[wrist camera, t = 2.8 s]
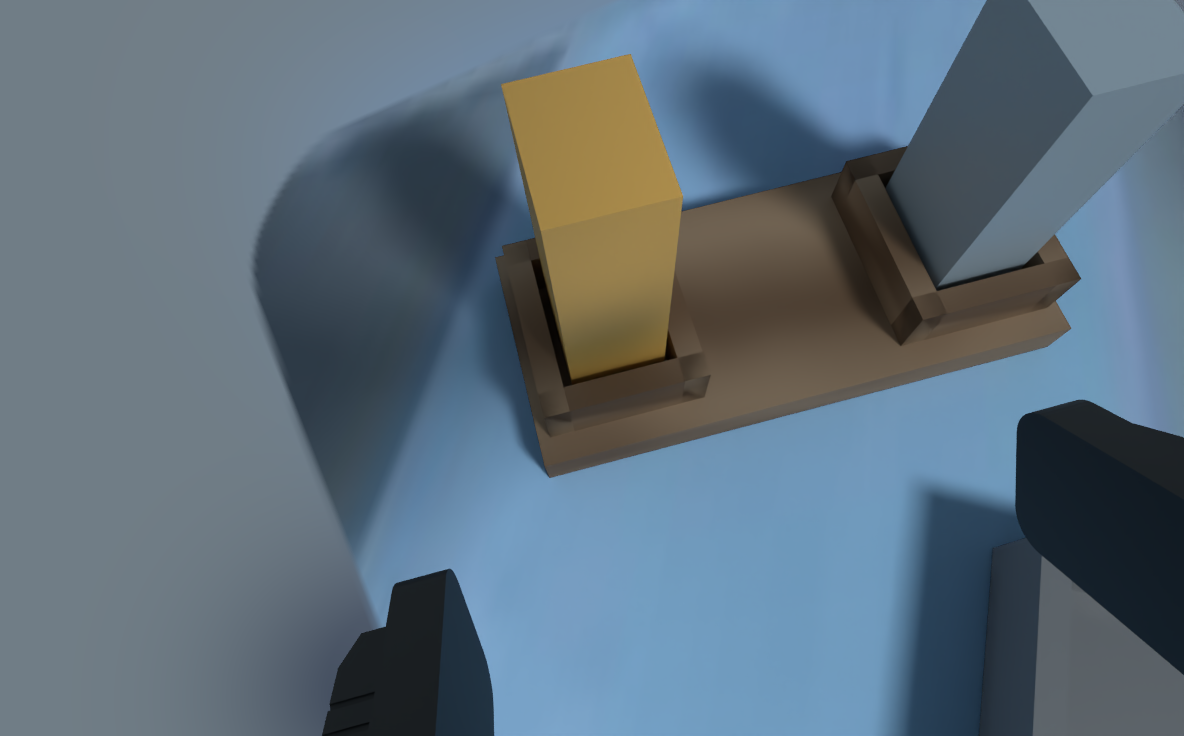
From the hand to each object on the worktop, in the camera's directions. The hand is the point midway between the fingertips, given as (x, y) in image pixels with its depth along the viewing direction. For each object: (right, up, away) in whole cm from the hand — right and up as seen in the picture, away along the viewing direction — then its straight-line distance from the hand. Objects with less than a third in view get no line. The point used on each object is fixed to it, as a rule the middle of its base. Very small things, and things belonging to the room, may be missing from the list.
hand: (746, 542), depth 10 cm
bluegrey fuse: (+10, +7, +15) cm, 19 cm away
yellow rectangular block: (-2, +4, +15) cm, 15 cm away
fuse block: (+4, +5, +16) cm, 18 cm away
